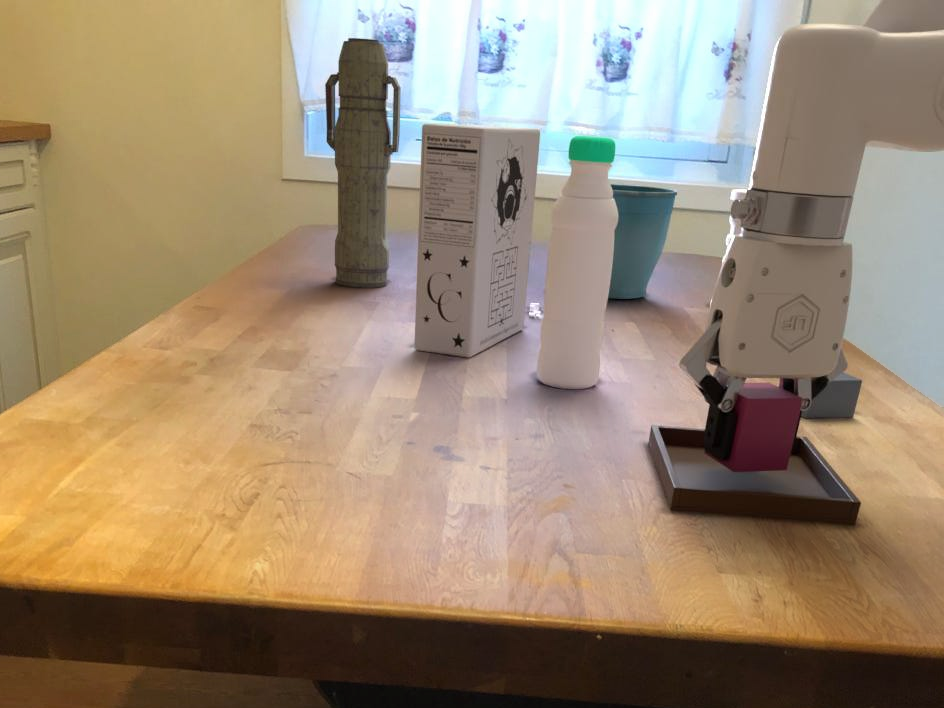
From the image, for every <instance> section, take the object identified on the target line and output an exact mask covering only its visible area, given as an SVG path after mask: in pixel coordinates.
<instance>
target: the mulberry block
mask: <svg viewBox="0 0 944 708" xmlns="http://www.w3.org/2000/svg"><path fill="white" fill-rule="evenodd" d="M802 401H803V398H801V397H799V396H797V395H795V394H793V393H791V392H788V391H786V390H784V389H782V388H780V387H779V385H778V386H777V385H776V384H773V383H771V382H745V383H744V385H743V387H742V390H741V392H740V394H739V396H738V398H737V400H736V403H735V405H734V407H733V411H734V412H736V413H738V414H737V415H738V418H737V423H736V428H735V433H734V438H733V443H732V448H731V453H730V457H729V459H728V460H722V461H721V460H719V459H717V458H716V457H714V456H713V455H711V454H710V453H708V452H706V451H704V453H705V454H706V455H708V456H710V457H711V458H713V459H714V460H716V461H717V462H719V463H720V464H722V465H723V466H725V467H727V468H728V469H730V470H731V471H733V472H750V471H777V470H787V466H788V462H789V458H790V453H791V449H792V445H793V440H794V436H795V431H796V427H797V423H798V418H799V414H800V409H801V405H802Z"/></svg>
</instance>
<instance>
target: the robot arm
mask: <svg viewBox="0 0 944 708" xmlns="http://www.w3.org/2000/svg"><path fill="white" fill-rule="evenodd" d="M866 147H870V148H878V149H879V148H880V149H881V148H882V149H892V150H898V151H907V152H916V153H935V152H936V153H937V152H943V151H944V0H879V1H878V2H877V4H876V5H875V7H874V8H873V9H872V10H871V12H870V14H869V15H868V16H867V17H866V19H865V20H864V22H863V23H862V25H859V24H848V23H832V22H831V23H830V22H829V23H828V22H815V23H814V22H812V23H803V24H796V25H793V26H791V27H789V28H788V29H786V30H785V31H783V33H782V34H781V35H780V37H779V38H778V40H777V42H776V45H775V47H774V51H773V55H772V60H771V66H770V70H769V76H768V82H767V88H766V93H765V98H764V104H763V109H762V114H761V121H760V126H759V132H758V138H757V142H756V149H755V153H754V159H753V165H752V170H751V174H750V175H751V176H750V181H749V188H748V189H746V190H747V192H746V198H744V199H743V200H735V201H733V202H732V204H731V207H730V216H731V217H732V218H733V219H740V220H741V225H740V226H741V227H742V229H741V234H736V235H734V236H733V238H732V240H731V243H730V245H729V247H728V250H727V249H726V250H727V253H726V252H725V254H724V256H725V258H724V257H723V258H724V261H723V264H721V266H720V270H719V274H718V276H717V279H716V284H715V287H714V290H713V294H712V297H711V300H712V301H711V300H710V303H711V305H710V304H709V310H708V315H707V320H706V323H705V329H704V333H703V334H702V335H701V336H700V338H698V340H697V341H696V342H695V343H694V344H693V346H692V347H691V348H690V349H689V350H688V351H687V352H686V354H685V355H684V356H683V357H681V359H680V360H679V363H678V367H679V368H680V370H681V371H682V372H683V373H684V374H685V375H686V376H687V377H688V378H689V379H690V381H692V382H693V383H694V385H695V386H696V388H697V389H698V391H699V392H700V394H701V395H702V397H703V398H704V401H705V403H707V404H709V405H708V410H707V417H706V422H705V427H704V429H705V432H704V444H705V445H704V449H705V451H706V452H708V453H710V454H711V455H713V456H714V457H716V458H717V459H719V460H721V461H722V460H728V459H729V457H730V453H731V448H732V443H733V438H734V433H735V428H736V423H737V418H738V415H737V414H738V413H736V412H734V411H733V407H734V405H735V403H736V400H737V398H738V396H739V394H740V392H741V390H742V387H743V385H744V383H746V381H747V379H779V380H778V381H779V383H780V388H782V389H784V390H786V391H788V392H791V393H793V394H795V395H797V396H799V397H801V398H803V401H802V405H801V409H800V414H799V418H798V423H797V427H796V431H795V436H794V440H793V444H794V443H795V440H796V436H798V431H799V426H800V424H801V418H802V416H801V414H802V411H806V410H807V409H809V407H810V406H811V402H812V400H813V399H814V398H815V397H816V396H817V395H818V394H819V393H820V392H821V391H822V390H823V389H825V387H826V386H827V383H828V382H831V381H833V380H834V379H835V378H836V377H838V376H839V375H840V374H842V373H845V371H846V370H847V368H848V366H849V365H848V361H847V359H846V356H845V353H844V351H843V349H842V345H843V340H844V335H845V331H846V325H847V319H848V313H849V305H850V298H851V289H852V279H853V244H852V243H850V242H847V241H844V239H845V235H846V231H847V227H848V223H849V219H850V214H851V211H852V206H853V201H854V196H855V192H856V187H857V183H858V179H859V174H860V171H861V166H862V162H863V158H864V154H865V151H866V150H865V149H866ZM707 363H708V365H709V364H710V365H712V366H716V368H715V370H714V372H713V375H712V374H711V373H710V371H709V370H708V368H707ZM792 448H793V445H792ZM791 453H792V449H791ZM791 453H790V456H791Z"/></svg>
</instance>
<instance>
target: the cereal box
mask: <svg viewBox="0 0 944 708" xmlns="http://www.w3.org/2000/svg"><path fill="white" fill-rule="evenodd" d="M540 142H541V130H540V129H538V128H528V127H515V126H499V125H498V126H497V125H483V124H482V125H481V124H480V125H479V124H448V123H447V124H446V123H445V124H444V123H424V124H422V126H421V144H420V145H421V146H420V179H419V204H418V205H419V206H418V207H419V208H418V234H417V241H418V242H417V262H416V264H417V265H416V288H415V289H416V292H415V293H416V294H415V321H414V349H415V350H416V351H419V352H427V353H433V354H441V355H447V356H454V357H461V358H469V359H470V358H472V357H473V356H475V355H477V354H479V353H481V352H483V351H485V350H487V349H489V348H490V347H492V346H494V345H496V344H498V343H500V342H502V341H504V340H505V339H507V338H509V337H511V336H513V335H515V334H517V333H518V332H521V331H522V330H524V327H525V316H526V305H527V293H528V283H529V282H528V280H529V271H530V270H529V269H530V260H531V246H532V235H533V225H534V224H533V222H534V221H533V220H534V212H535V202H536V201H535V199H536V189H537V177H538V166H539V165H538V164H539V155H540V154H539V153H540V152H539V151H540Z"/></svg>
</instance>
